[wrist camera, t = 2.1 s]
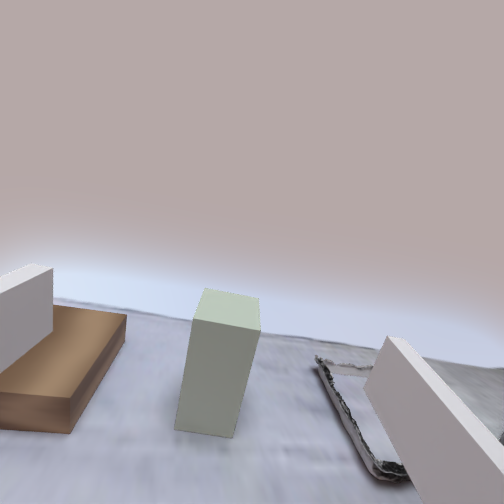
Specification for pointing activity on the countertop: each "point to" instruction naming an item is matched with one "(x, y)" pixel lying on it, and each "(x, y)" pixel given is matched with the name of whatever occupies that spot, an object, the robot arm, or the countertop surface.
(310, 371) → the countertop surface
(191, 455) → the countertop surface
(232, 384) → the sage block
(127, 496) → the countertop surface
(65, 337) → the walnut block
